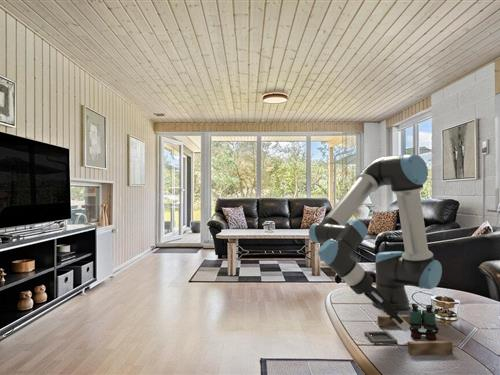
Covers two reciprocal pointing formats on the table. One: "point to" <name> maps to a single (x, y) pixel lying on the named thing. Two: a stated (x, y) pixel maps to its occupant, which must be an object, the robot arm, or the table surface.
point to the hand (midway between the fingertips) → (406, 328)
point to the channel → (420, 346)
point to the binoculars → (423, 323)
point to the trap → (380, 337)
